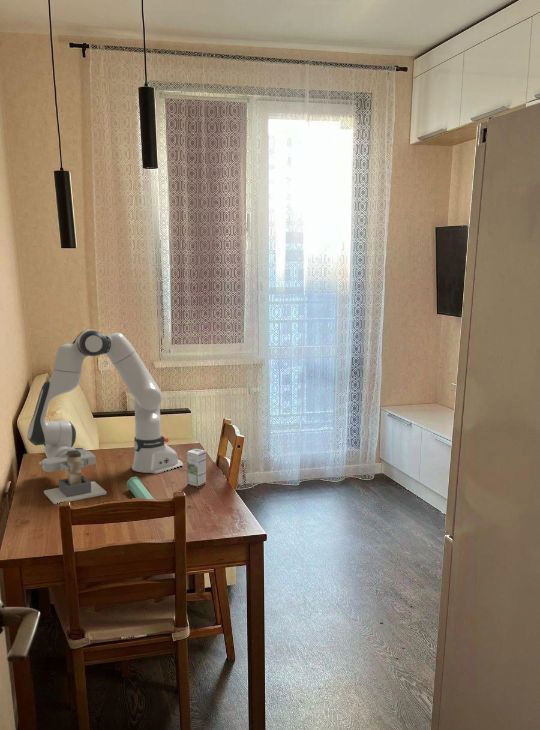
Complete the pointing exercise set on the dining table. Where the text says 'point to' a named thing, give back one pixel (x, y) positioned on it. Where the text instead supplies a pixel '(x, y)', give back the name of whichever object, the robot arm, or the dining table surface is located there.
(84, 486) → the collar stand
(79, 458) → the spice jar
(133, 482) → the container
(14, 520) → the dining table surface
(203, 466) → the syrup box
